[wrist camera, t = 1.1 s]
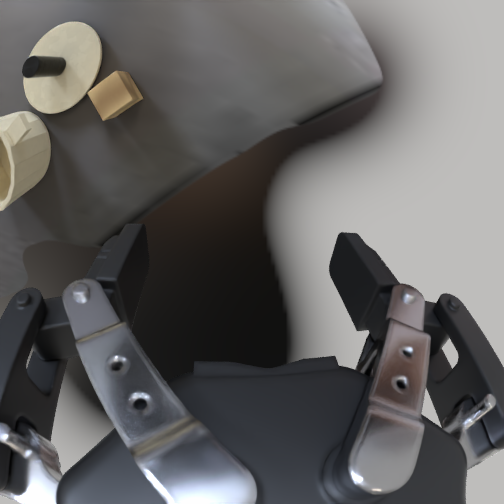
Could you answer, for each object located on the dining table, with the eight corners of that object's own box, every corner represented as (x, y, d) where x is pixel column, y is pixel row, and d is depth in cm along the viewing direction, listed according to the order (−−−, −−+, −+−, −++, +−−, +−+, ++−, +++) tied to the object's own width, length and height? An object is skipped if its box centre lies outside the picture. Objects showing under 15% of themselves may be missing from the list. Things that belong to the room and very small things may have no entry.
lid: (18, 67, 19) (-15, 71, 13) (84, 5, 17) (56, -7, 11) (49, 131, 25) (17, 143, 19) (120, 71, 23) (94, 68, 17)
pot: (-17, 156, 24) (-50, 175, 17) (42, 81, 21) (2, 86, 14) (14, 209, 30) (-16, 237, 23) (77, 145, 27) (41, 164, 20)
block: (101, 91, 24) (87, 92, 21) (128, 72, 24) (116, 70, 20) (116, 116, 26) (103, 121, 23) (143, 98, 26) (132, 99, 22)
